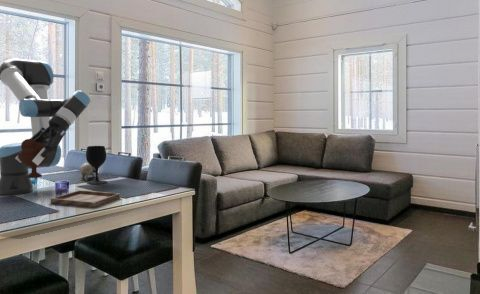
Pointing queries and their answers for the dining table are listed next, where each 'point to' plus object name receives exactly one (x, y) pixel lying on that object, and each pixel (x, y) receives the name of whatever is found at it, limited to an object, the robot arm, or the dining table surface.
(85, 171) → the elephant figurine
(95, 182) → the wine glass
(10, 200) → the dining table surface
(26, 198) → the dining table surface
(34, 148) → the ice cream bowl
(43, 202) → the dining table surface
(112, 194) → the tray
